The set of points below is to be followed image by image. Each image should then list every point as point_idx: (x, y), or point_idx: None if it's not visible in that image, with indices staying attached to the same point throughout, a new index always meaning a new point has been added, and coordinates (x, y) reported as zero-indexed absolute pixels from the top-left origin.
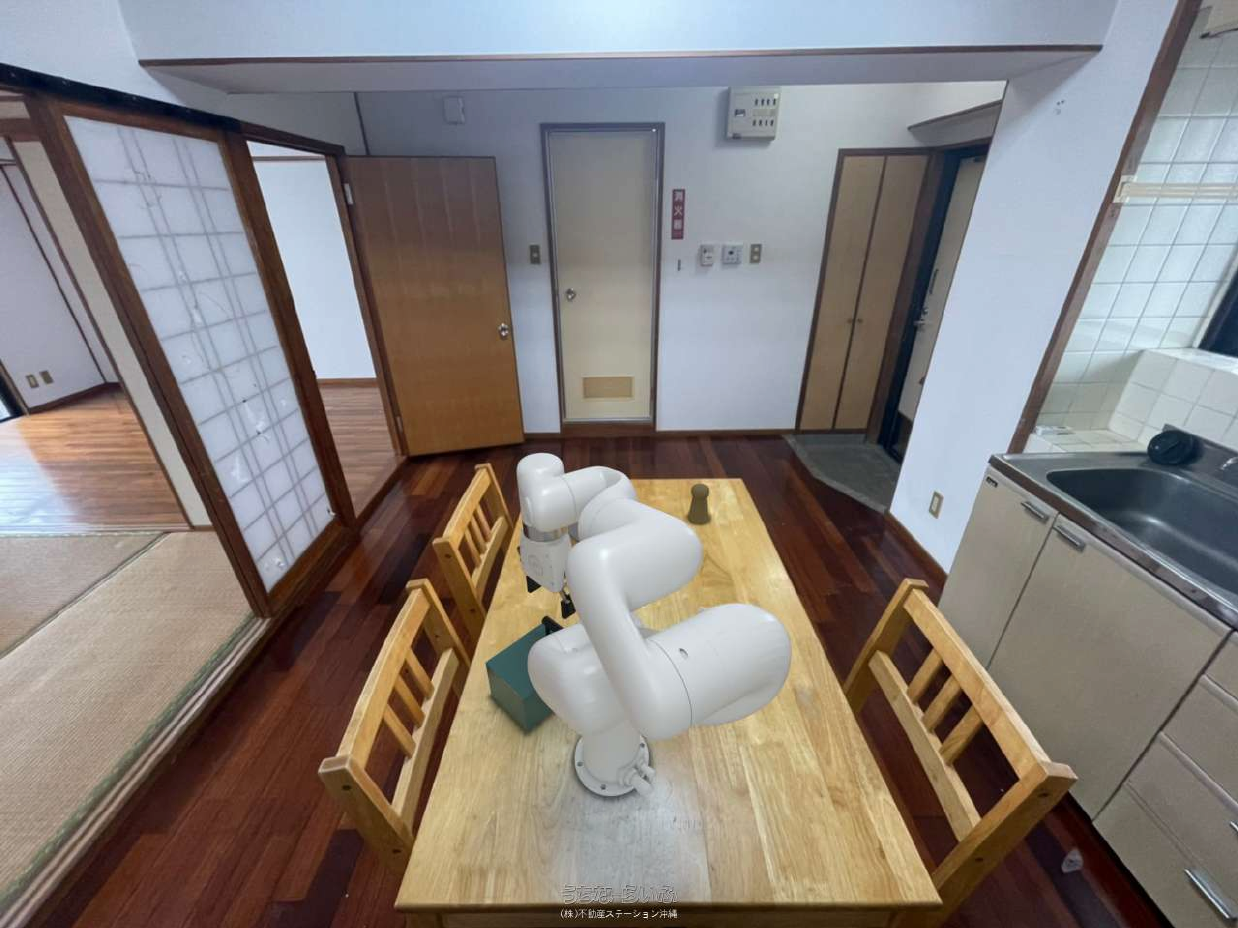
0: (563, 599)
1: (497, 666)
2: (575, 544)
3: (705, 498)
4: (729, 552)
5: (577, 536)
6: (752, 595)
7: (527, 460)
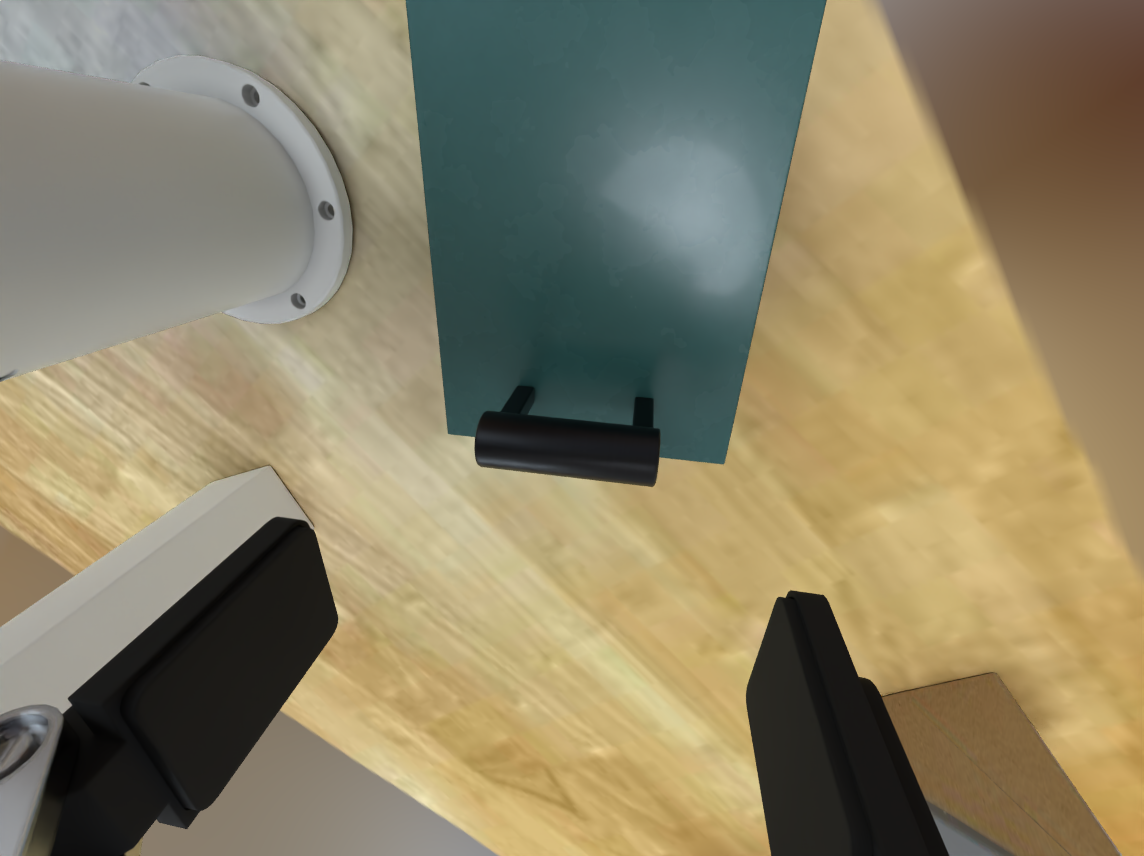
0: (38, 757)
1: (723, 20)
2: (929, 788)
3: None
4: (537, 826)
5: (942, 830)
6: (414, 751)
7: None
